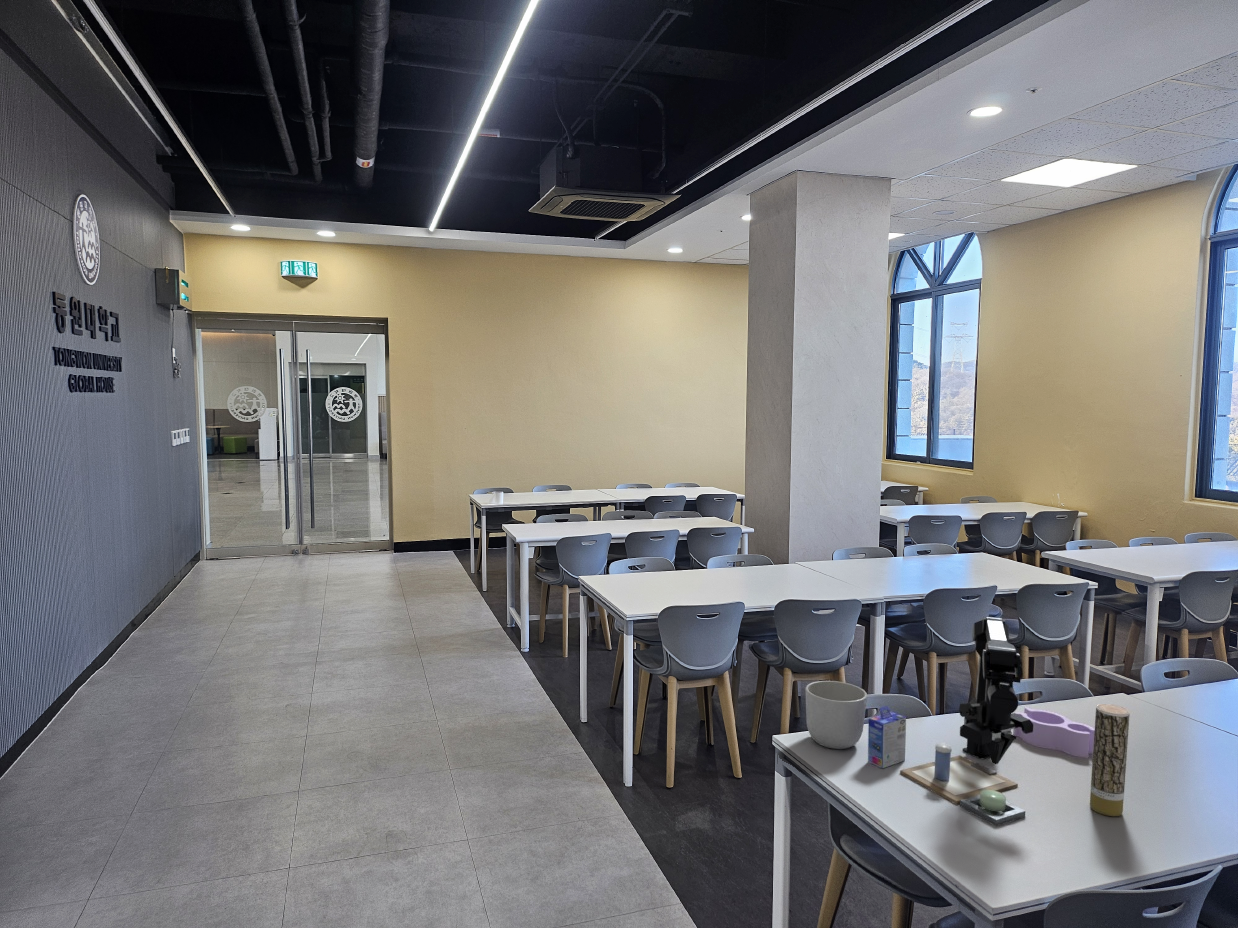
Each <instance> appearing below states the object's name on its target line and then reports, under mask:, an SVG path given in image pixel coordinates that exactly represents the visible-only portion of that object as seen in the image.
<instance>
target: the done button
mask: <svg viewBox="0 0 1238 928" xmlns="http://www.w3.org/2000/svg"><path fill="white" fill-rule="evenodd" d="M1006 801H1007V797H1006V795H1005V794H1004V793H1001V792H997V791H994V790H982V791H981V792H980V805H979V806H981V808H983V809H984V810H987V811H992V812H996V813H997V812H999V813H1000V812H1004V811H1006V810H1005V809H1006Z"/></svg>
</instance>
